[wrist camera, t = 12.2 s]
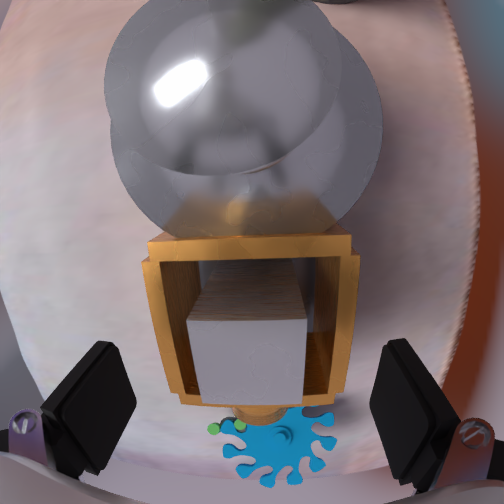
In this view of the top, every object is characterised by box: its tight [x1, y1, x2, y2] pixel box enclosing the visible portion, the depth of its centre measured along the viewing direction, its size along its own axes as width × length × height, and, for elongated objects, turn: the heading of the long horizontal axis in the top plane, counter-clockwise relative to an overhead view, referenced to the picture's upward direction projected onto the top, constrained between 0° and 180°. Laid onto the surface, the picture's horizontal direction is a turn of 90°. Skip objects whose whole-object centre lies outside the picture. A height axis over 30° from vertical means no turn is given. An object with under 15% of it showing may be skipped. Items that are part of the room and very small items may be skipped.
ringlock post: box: [104, 0, 383, 426], centre depth 13 cm, size 22×11×14 cm, turn 3°
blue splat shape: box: [208, 405, 337, 488], centre depth 22 cm, size 11×6×10 cm
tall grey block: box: [186, 258, 307, 405], centre depth 14 cm, size 4×4×10 cm
